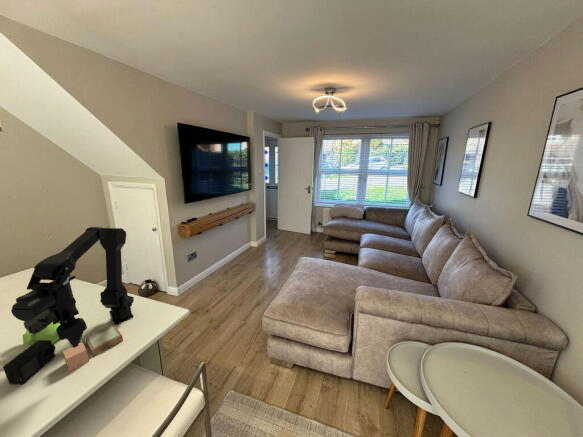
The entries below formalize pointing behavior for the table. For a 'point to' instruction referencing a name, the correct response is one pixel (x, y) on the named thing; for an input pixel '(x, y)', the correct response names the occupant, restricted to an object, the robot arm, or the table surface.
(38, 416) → the table surface
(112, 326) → the stand
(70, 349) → the cube
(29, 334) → the teapot
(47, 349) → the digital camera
